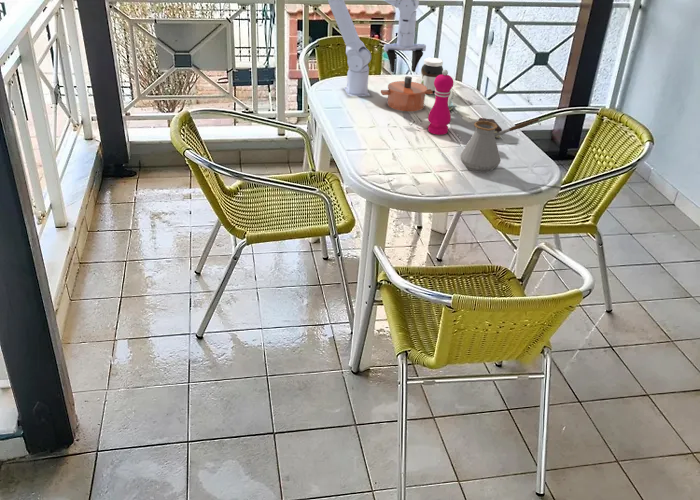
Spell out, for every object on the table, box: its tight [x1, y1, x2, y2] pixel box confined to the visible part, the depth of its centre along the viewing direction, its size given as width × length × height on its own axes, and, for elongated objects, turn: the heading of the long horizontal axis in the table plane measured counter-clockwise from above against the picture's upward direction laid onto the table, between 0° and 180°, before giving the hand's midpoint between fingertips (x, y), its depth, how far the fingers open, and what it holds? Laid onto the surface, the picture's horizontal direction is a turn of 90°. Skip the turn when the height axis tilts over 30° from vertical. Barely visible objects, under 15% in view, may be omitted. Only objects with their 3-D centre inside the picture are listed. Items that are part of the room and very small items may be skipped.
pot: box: [380, 89, 433, 112], centre depth 235 cm, size 13×18×6 cm
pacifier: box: [448, 90, 458, 111], centre depth 236 cm, size 7×6×6 cm
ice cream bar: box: [477, 117, 503, 139], centre depth 220 cm, size 5×2×15 cm
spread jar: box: [419, 57, 452, 95], centre depth 250 cm, size 12×11×12 cm
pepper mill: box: [427, 69, 454, 136], centre depth 213 cm, size 7×7×20 cm
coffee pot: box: [459, 118, 542, 174], centre depth 191 cm, size 21×12×15 cm, turn 95°
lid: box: [387, 75, 427, 95], centre depth 233 cm, size 14×14×5 cm
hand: (402, 71), depth 237 cm, fingers open, 7 cm apart
